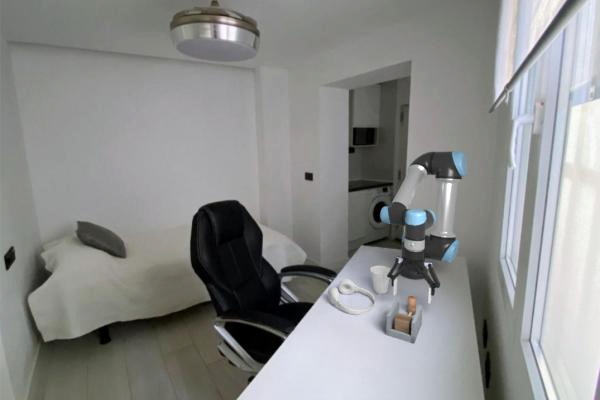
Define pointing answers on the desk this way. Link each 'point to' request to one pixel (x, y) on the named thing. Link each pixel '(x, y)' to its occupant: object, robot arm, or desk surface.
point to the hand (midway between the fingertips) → (411, 298)
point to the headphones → (347, 289)
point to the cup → (380, 278)
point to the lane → (414, 328)
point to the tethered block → (406, 317)
